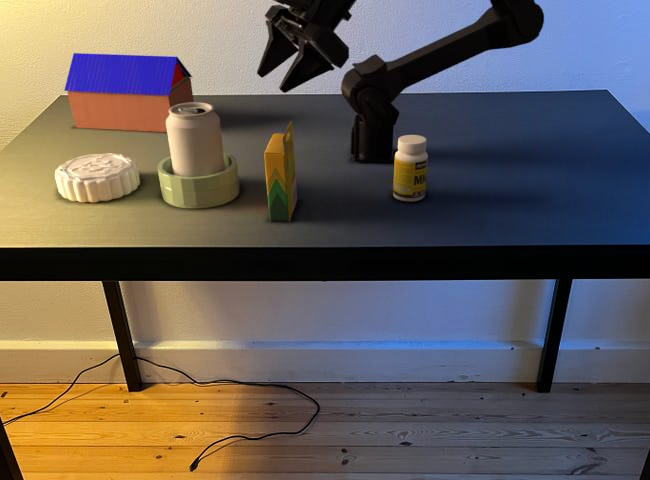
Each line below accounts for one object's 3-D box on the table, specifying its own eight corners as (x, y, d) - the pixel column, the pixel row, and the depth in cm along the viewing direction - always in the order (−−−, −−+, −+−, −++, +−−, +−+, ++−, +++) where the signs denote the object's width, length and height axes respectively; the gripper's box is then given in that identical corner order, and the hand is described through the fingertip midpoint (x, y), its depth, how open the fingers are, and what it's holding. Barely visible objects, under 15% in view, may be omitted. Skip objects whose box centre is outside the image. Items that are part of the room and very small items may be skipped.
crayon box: (277, 199, 100) (272, 119, 93) (297, 200, 99) (293, 119, 92) (268, 221, 94) (262, 137, 87) (289, 222, 93) (284, 137, 86)
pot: (246, 179, 106) (243, 150, 103) (230, 209, 97) (227, 179, 94) (174, 177, 107) (170, 148, 104) (152, 207, 98) (147, 177, 95)
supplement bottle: (415, 205, 98) (419, 147, 93) (387, 198, 100) (389, 141, 95) (430, 193, 101) (434, 137, 96) (402, 187, 103) (405, 131, 98)
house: (174, 133, 124) (164, 65, 117) (73, 127, 127) (57, 61, 120) (197, 112, 133) (188, 48, 126) (102, 108, 136) (89, 45, 129)
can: (231, 195, 100) (222, 112, 92) (179, 202, 98) (166, 118, 91) (223, 177, 105) (213, 97, 98) (174, 183, 104) (161, 102, 97)
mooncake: (100, 209, 97) (95, 185, 95) (42, 193, 102) (35, 170, 100) (156, 180, 106) (153, 158, 104) (100, 167, 111) (95, 145, 108)
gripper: (273, -58, 99) (209, 33, 102) (327, -44, 85) (251, 60, 88) (323, -2, 106) (262, 81, 109) (380, 19, 93) (309, 113, 96)
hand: (270, 82), depth 100 cm, fingers open, 9 cm apart
